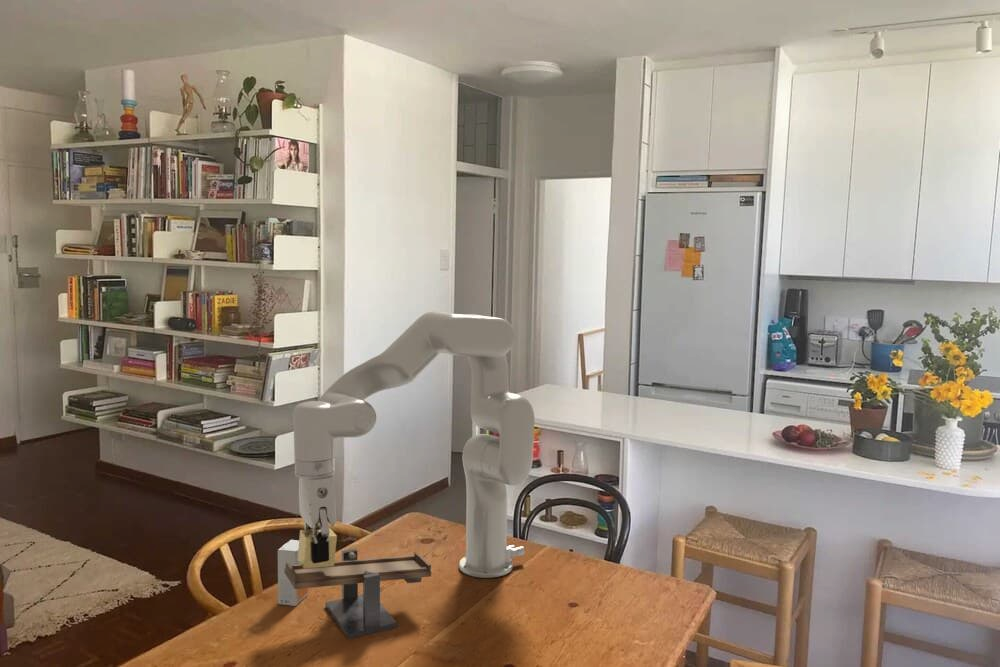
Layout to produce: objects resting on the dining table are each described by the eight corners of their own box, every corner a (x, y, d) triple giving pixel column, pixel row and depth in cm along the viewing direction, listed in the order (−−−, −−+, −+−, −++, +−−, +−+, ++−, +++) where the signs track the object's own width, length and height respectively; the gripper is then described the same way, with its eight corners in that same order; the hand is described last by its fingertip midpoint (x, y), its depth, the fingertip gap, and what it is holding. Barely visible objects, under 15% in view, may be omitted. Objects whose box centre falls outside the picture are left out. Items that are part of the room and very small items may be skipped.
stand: (371, 597, 167) (371, 545, 166) (397, 627, 154) (397, 571, 153) (325, 606, 162) (325, 553, 161) (348, 639, 149) (347, 581, 148)
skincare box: (296, 606, 162) (295, 551, 161) (277, 604, 163) (276, 549, 162) (309, 594, 168) (308, 540, 167) (291, 592, 169) (290, 539, 168)
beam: (411, 566, 169) (413, 547, 169) (433, 586, 159) (435, 566, 159) (281, 577, 155) (283, 556, 155) (296, 600, 145) (298, 578, 145)
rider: (327, 557, 156) (330, 528, 156) (334, 566, 152) (336, 535, 152) (297, 559, 153) (300, 530, 153) (303, 568, 149) (306, 537, 149)
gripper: (347, 475, 145) (348, 569, 147) (321, 453, 159) (323, 538, 162) (307, 480, 141) (309, 577, 143) (284, 457, 156) (286, 545, 158)
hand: (316, 555), depth 152 cm, fingers closed on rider, 4 cm apart
